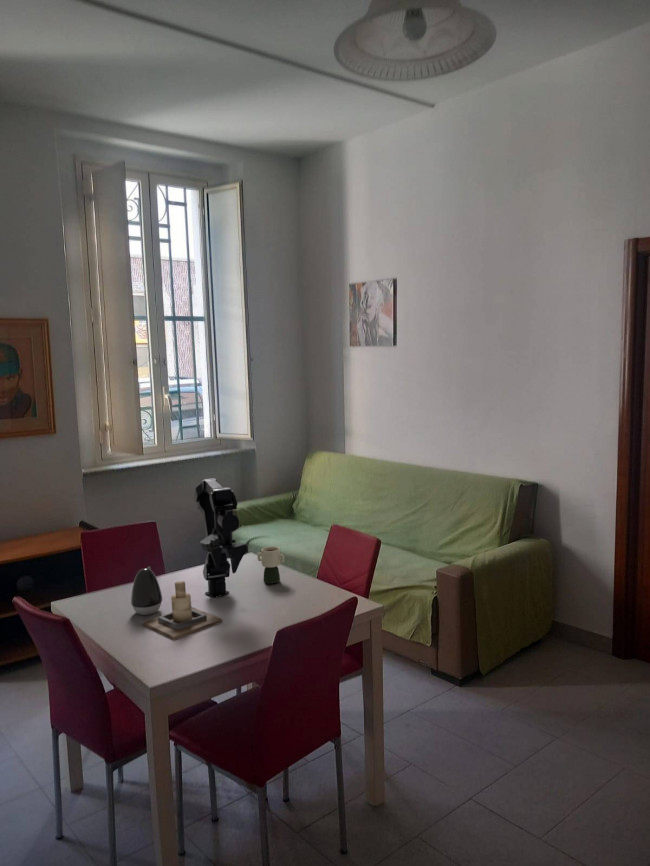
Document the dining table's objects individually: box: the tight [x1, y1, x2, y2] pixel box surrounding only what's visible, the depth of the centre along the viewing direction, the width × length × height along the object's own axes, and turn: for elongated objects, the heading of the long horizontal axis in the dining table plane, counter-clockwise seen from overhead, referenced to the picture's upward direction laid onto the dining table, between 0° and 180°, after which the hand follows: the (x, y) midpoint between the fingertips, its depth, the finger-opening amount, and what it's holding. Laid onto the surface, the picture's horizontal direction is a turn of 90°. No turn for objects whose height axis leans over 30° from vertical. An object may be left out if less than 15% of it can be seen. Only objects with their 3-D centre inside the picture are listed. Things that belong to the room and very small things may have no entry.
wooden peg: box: [170, 580, 192, 624], centre depth 211 cm, size 6×6×12 cm
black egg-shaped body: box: [130, 566, 163, 616], centre depth 223 cm, size 10×10×15 cm
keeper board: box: [142, 606, 223, 641], centre depth 212 cm, size 18×18×2 cm
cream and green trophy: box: [257, 545, 285, 584], centre depth 249 cm, size 11×7×13 cm, turn 71°
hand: (225, 570), depth 224 cm, fingers open, 9 cm apart
